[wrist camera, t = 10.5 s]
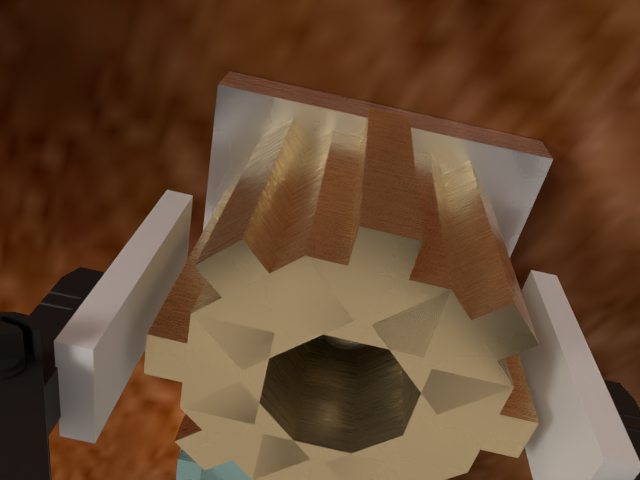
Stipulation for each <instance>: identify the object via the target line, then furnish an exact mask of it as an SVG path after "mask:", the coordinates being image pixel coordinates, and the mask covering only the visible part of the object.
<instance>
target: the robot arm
mask: <svg viewBox="0 0 640 480" xmlns="http://www.w3.org/2000/svg"><path fill="white" fill-rule="evenodd" d="M192 201H193V195H188V194H184V193H179V192H175V191H170V190H167V191H166V192H165V193H164V195H163V196H162V197H161V199H160V200H159V201H158V203H157V204H156V205H155V207H154V208H153V209H152V211H151V212H150V213H149V215H148V216H147V217H146V219H145V220H144V221H143V223H142V224H141V225H140V227H139V228H138V229H137V231H136V232H135V233H134V235H133V236H132V237H131V239H130V240H129V241H128V243H127V244H126V245H125V247H124V248H123V249H122V251H121V252H120V253H119V255H118V256H117V257H116V259H115V260H114V261H113V263H112V264H111V265H110V267H109V268H108V269H107V271H106V272H105V273H104V272H100V271H95V270H91V269H86V268H81V267H80V268H78V269H76V270H74V271H73V272H71V273H69V274H67V275H65V276H63V277H62V278H61V279H60V280H59V281H58V283H57V284H56V285H55V286H54V287H53V288H52V290H51V291H50V294H49V293H48V294H47V295H46V297H45V298H44V299H43V300H42V301H41V304H40V305H38V306H37V307H36V308H35V310H34V311H33V312H32V313H31V314H30V315H29V316H28V315H24V314H20V313H17V312H0V480H51V467H50V452H49V439H48V436H49V434H50V433H51V431H52V430H53V428H54V426H55V425H56V423H57V422H58V420H59V428H60V436H62V437H67V438H71V439H76V440H81V441H85V442H90V443H95V442H96V441H97V439H98V437H99V435H100V433H101V431H102V429H103V427H104V426H105V424H106V422H107V420H108V418H109V416H110V414H111V412H112V411H113V409H114V407H115V405H116V403H117V401H118V399H119V397H120V396H121V394H122V392H123V390H124V388H125V386H126V384H127V382H128V381H129V379H130V377H131V375H132V373H133V371H134V369H135V367H136V365H137V364H138V362H139V360H140V358H141V356H142V354H143V352H144V350H145V349H146V335H147V333H148V331H149V329H150V327H151V325H152V323H153V322H154V320H155V318H156V316H157V314H158V313H159V311H160V309H161V307H162V305H163V303H164V302H165V300H166V298H167V296H168V294H169V292H170V291H171V289H172V287H173V285H174V283H175V282H176V280H177V278H178V276H179V274H180V272H181V271H182V269H183V267H184V265H185V263H186V261H187V258H188V247H189V235H190V224H191V212H192ZM521 293H522V296H523V299H524V302H525V305H526V308H527V311H528V314H529V317H530V320H531V322H532V325H533V328H534V331H535V334H536V337H537V340H538V343H539V345H538V346H535V347H532V348H530V349H527V350H524V351H522V352H519V356H520V360H521V363H522V367H523V370H524V374H525V377H526V380H527V384H528V387H529V391H530V394H531V398H532V401H533V405H534V408H535V412H536V415H537V419H538V422H539V424H538V426H537V427H536V429H535V431H534V432H533V434H532V436H531V437H530V439H529V441H528V442H527V444H526V446H525V450H526V454H527V458H528V462H529V466H530V470H531V474H532V478H533V480H640V409H639V407H638V405H637V403H636V401H635V400H634V399H633V397H632V396H631V395H630V394H629V393H628V392H627V391H626V390H625V389H624V388H623V386H622V385H621V384H620V383H616V382H612V381H607V380H603V378H602V376H601V374H600V371H599V369H598V367H597V365H596V362H595V360H594V358H593V356H592V353H591V351H590V349H589V347H588V345H587V342H586V340H585V338H584V336H583V333H582V331H581V329H580V327H579V324H578V322H577V320H576V318H575V315H574V313H573V311H572V309H571V307H570V304H569V302H568V300H567V298H566V295H565V293H564V291H563V289H562V286H561V284H560V282H559V280H558V277H557V275H552V274H548V273H543V272H538V271H534V270H531V271H530V273H529V276H528V278H527V280H526V282H525V284H524V286H523V288H522V290H521Z"/></svg>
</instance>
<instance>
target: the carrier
mask: <svg viewBox="0 0 640 480" xmlns="http://www.w3.org/2000/svg"><path fill="white" fill-rule="evenodd" d="M369 107H371V108H375V109H379V110H383V111H387V112H392V113H396V114H400V115H404V116H408V117H410V124H411V133H412V143H413V148H414V149H418V150H422V151H427V152H429V153H430V155H431V156H432V158H433V160H434V162H435V163H436V165H437V167H438V168H439V170H440V172H441V174H442V175H443V174H445V173H446V172H448V171H450V170H452V169H454V168H456V167H458V166H460V165H462V164H464V163H466V162H468V161H470V162H471V164H472V166H473V167H474V169H475V171H476V173H477V175H478V176H479V178H480V180H481V182H482V184H483V185H484V187H485V189H486V191H487V193H488V196H489V199H490V202H491V205H492V208H493V210H494V213H495V216H496V219H497V222H498V225H499V228H500V231H501V234H502V237H503V240H504V243H505V246H506V249H507V252H508V255H509V258H510V256H511V254H512V252H513V250H514V247H515V245H516V243H517V240H518V238H519V236H520V234H521V231H522V229H523V227H524V225H525V222H526V220H527V218H528V216H529V213H530V211H531V209H532V207H533V204H534V202H535V200H536V198H537V195H538V193H539V191H540V188H541V186H542V184H543V182H544V179H545V177H546V175H547V173H548V170H549V168H550V166H551V164H552V161H553V158H552V156H551V155H550V153H549V152H548V150H547V148H546V147H545V145H544V144H543V142H542V141H541V140H536V139H532V138H527V137H523V136H518V135H514V134H509V133H505V132H500V131H496V130H491V129H487V128H483V127H478V126H474V125H469V124H465V123H460V122H456V121H451V120H447V119H442V118H438V117H433V116H429V115H424V114H420V113H415V112H411V111H406V110H402V109H398V108H393V107H389V106H384V105H380V104H375V103H371V102H366V101H362V100H357V99H353V98H348V97H344V96H339V95H335V94H330V93H326V92H321V91H317V90H313V89H308V88H304V87H299V86H295V85H290V84H286V83H281V82H277V81H272V80H268V79H263V78H259V77H254V76H250V75H245V74H241V73H236V72H232V71H230V72H229V73H228V74H227V75H226V76H225V77H224V78H223V79H222V80H221V82H220V83H219V84H218V88H217V98H216V108H215V118H214V127H213V137H212V147H211V157H210V167H209V177H208V186H207V196H206V206H205V216H204V226H203V230H204V229H205V227H206V225H207V223H208V221H209V220H210V218H211V216H212V214H213V212H214V210H215V209H216V207H217V205H218V203H219V201H220V199H221V198H222V196H223V194H224V192H225V193H229V194H232V193H233V191H234V189H235V187H236V185H237V183H238V181H239V179H240V177H241V175H242V173H243V171H244V169H245V168H246V166H247V164H248V162H249V160H250V158H251V156H252V154H253V152H254V150H255V148H256V146H257V145H258V143H259V141H260V139H261V138H262V137H264V136H266V135H267V134H269V133H270V132H272V131H274V130H275V129H277V128H279V127H280V126H282V125H284V124H285V123H287V122H288V121H290V120H292V119H294V121H295V122H296V124H297V125H298V127H299V128H300V130H301V131H302V132H303V134H304V135H305V137H306V138H307V140H308V141H309V143H311V142H313V141H315V140H317V139H318V138H320V137H322V136H323V135H325V134H327V133H329V132H330V131H332V130H338V131H342V132H346V133H351V134H355V135H359V136H362V133H363V129H364V125H365V122H366V118H367V114H368V110H369ZM322 337H323V338H324V339H325V340H326V341H327V342H328V343H330V344H331V345H333V346H335V347H338V348H341V349H356V348H360V347H363V346H365V345H366V344H363V343H358V342H354V341H349V340H345V339H341V338H336V337H332V336H328V335H322ZM184 416H185V413H184ZM176 480H252V479H251V478H250V477H249V476H248V475H247V474H246V473H245V472H244V471H243V470H242V469H241V468H240V467H239V466H238V465H237V464H236V463H235V462H234V461H233V460H231V461H229V462H226V463H223V464H221V465H218V466H215V467H213V468H210V469H207V470H204V469H203V468H202V467H200V466H199V465H198V464H197V463H196V462H195V461H194V460H193V459H192V458H191V457H190V456H189V455H188V454H187V453H186V452H185V451H184V450H183V449H182V448H181V452H180V455H179V458H178V464H177V474H176Z"/></svg>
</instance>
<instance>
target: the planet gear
mask: <svg viewBox="0 0 640 480" xmlns="http://www.w3.org/2000/svg"><path fill="white" fill-rule="evenodd" d="M322 335H328V336H332V337H336V338H341V339H345V340H349V341H354V342H358V343H363V344H366V345H365V346H363V347H360V348H356V349H341V348H338V347H335V346H333V345H331V344H330V343H328V342H327V341H326V340H325V339H324V338H323V337H322ZM538 345H539V343H538V340H537V337H536V334H535V331H534V328H533V325H532V322H531V320H530V317H529V314H528V311H527V308H526V305H525V302H524V299H523V296H522V293H521V290H520V287H519V284H518V281H517V278H516V275H515V272H514V269H513V266H512V264H511V261H510V258H509V255H508V252H507V249H506V246H505V243H504V240H503V237H502V234H501V231H500V228H499V225H498V222H497V219H496V216H495V213H494V210H493V208H492V205H491V202H490V199H489V196H488V193H487V191H486V189H485V187H484V185H483V184H482V182H481V180H480V178H479V176H478V175H477V173H476V171H475V169H474V167H473V166H472V164H471V162H470V161H468V162H466V163H464V164H462V165H460V166H458V167H456V168H454V169H452V170H450V171H448V172H446V173H445V174H443V175H442V174H441V172H440V170H439V168H438V167H437V165H436V163H435V162H434V160H433V158H432V156H431V155H430V153H429V152H427V151H422V150H418V149H414V148H413V143H412V133H411V124H410V117H408V116H404V115H400V114H396V113H392V112H387V111H383V110H379V109H375V108H371V107H369V110H368V114H367V118H366V122H365V125H364V129H363V133H362V136H359V135H355V134H351V133H346V132H342V131H338V130H332V131H330V132H329V133H327V134H325V135H323V136H322V137H320V138H318V139H317V140H315V141H313V142H311V143H309V141H308V140H307V138H306V137H305V135H304V134H303V132H302V131H301V130H300V128H299V127H298V125H297V124H296V122H295V121H294V119H292V120H290V121H288V122H287V123H285V124H284V125H282V126H280V127H279V128H277V129H275V130H274V131H272V132H270V133H269V134H267V135H266V136H264V137H262V138H261V139H260V141H259V143H258V145H257V146H256V148H255V150H254V152H253V154H252V156H251V158H250V160H249V162H248V164H247V166H246V168H245V169H244V171H243V173H242V175H241V177H240V179H239V181H238V183H237V185H236V187H235V189H234V191H233V193H232V194H229V193H225V192H224V194H223V196H222V198H221V199H220V201H219V203H218V205H217V207H216V209H215V210H214V212H213V214H212V216H211V218H210V220H209V221H208V223H207V225H206V227H205V229H204V230H203V232H202V234H201V236H200V238H199V240H198V241H197V243H196V245H195V247H194V249H193V251H192V252H191V254H190V256H189V258H188V260H187V261H186V263H185V265H184V267H183V269H182V271H181V272H180V274H179V276H178V278H177V280H176V282H175V283H174V285H173V287H172V289H171V291H170V292H169V294H168V296H167V298H166V300H165V302H164V303H163V305H162V307H161V309H160V311H159V313H158V314H157V316H156V318H155V320H154V322H153V323H152V325H151V327H150V329H149V331H148V333H147V335H146V350H145V366H144V374H148V375H152V376H157V377H161V378H165V379H170V380H174V381H179V382H183V385H182V393H181V402H180V408H181V409H182V410H183V411H184V412H185V416H184V418H183V421H182V423H181V426H180V429H179V431H178V434H177V436H176V439H175V441H174V442H175V443H176V444H178V445H179V446H180V447H181V448H182V449H183V450H184V451H185V452H186V453H187V454H188V455H189V456H190V457H191V458H192V459H193V460H194V461H195V462H196V463H197V464H198V465H199V466H200V467H202V468H203V469H204V470H207V469H210V468H213V467H215V466H218V465H221V464H223V463H226V462H229V461H231V460H233V461H234V462H235V463H236V464H237V465H238V466H239V467H240V468H241V469H242V470H243V471H244V472H245V473H246V474H247V475H248V476H249V477H250V478H251V479H252V480H450V478H452V477H455V476H458V475H461V474H464V473H468V471H469V469H470V467H471V466H472V464H473V462H474V460H475V458H476V456H477V455H478V453H479V451H480V450H484V451H489V452H493V453H498V454H502V455H507V456H511V457H515V458H518V457H519V456H520V454H521V452H522V451H523V449H524V447H525V446H526V444H527V442H528V441H529V439H530V437H531V436H532V434H533V432H534V431H535V429H536V427H537V426H538V424H539V422H538V419H537V415H536V412H535V408H534V405H533V401H532V398H531V394H530V391H529V387H528V384H527V380H526V377H525V374H524V370H523V367H522V363H521V360H520V356H519V352H522V351H524V350H527V349H530V348H532V347H535V346H538Z"/></svg>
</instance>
